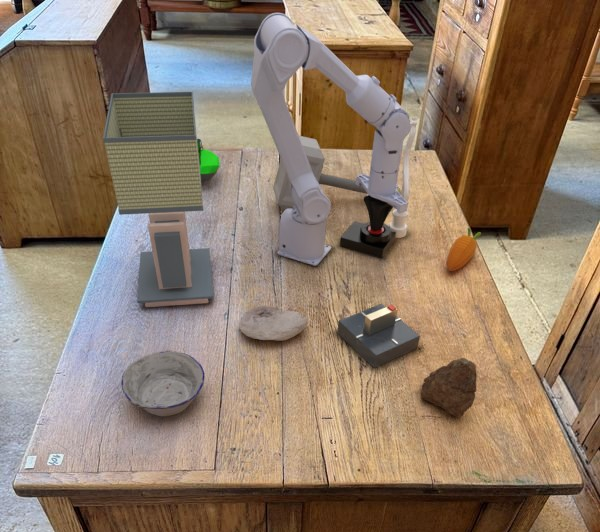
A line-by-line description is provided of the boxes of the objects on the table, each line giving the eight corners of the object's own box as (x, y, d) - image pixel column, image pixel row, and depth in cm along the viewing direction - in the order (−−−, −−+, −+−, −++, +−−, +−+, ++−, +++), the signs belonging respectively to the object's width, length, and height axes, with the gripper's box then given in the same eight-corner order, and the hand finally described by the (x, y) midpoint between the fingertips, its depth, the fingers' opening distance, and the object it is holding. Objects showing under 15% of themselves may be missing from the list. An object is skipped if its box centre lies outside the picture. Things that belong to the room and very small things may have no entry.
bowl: (220, 409, 92) (217, 388, 89) (143, 439, 88) (138, 419, 84) (188, 361, 100) (185, 340, 96) (116, 386, 95) (110, 365, 91)
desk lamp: (214, 309, 110) (197, 135, 86) (139, 314, 108) (100, 138, 84) (210, 256, 122) (194, 91, 99) (142, 260, 121) (109, 93, 97)
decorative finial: (407, 238, 130) (429, 124, 112) (390, 238, 129) (408, 124, 111) (402, 225, 134) (422, 112, 116) (385, 225, 133) (402, 112, 115)
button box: (339, 246, 127) (341, 229, 124) (353, 229, 132) (355, 213, 129) (381, 258, 124) (384, 242, 121) (394, 241, 129) (397, 225, 126)
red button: (364, 237, 125) (365, 230, 124) (370, 230, 127) (371, 223, 126) (379, 242, 124) (380, 234, 123) (385, 234, 126) (386, 227, 125)
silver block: (368, 336, 101) (371, 319, 98) (363, 331, 102) (365, 314, 99) (394, 324, 104) (397, 308, 101) (389, 320, 104) (392, 303, 102)
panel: (336, 333, 106) (338, 320, 104) (379, 315, 110) (381, 302, 108) (373, 368, 100) (375, 355, 98) (417, 348, 104) (420, 334, 102)
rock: (413, 388, 97) (436, 343, 90) (446, 389, 99) (471, 344, 92) (434, 430, 90) (461, 384, 83) (468, 430, 92) (497, 385, 85)
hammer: (406, 158, 138) (287, 130, 129) (416, 173, 133) (293, 145, 123) (383, 215, 148) (271, 193, 139) (391, 230, 143) (275, 209, 134)
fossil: (229, 322, 101) (251, 293, 108) (231, 342, 104) (252, 312, 111) (294, 335, 98) (312, 304, 105) (294, 354, 101) (312, 323, 108)
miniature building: (175, 170, 149) (169, 127, 141) (220, 169, 150) (217, 126, 142) (173, 192, 141) (167, 147, 133) (221, 191, 142) (217, 147, 134)
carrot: (466, 268, 116) (488, 234, 125) (446, 254, 116) (470, 220, 125) (452, 284, 120) (475, 249, 129) (433, 270, 120) (457, 236, 129)
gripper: (423, 177, 112) (412, 239, 122) (377, 149, 120) (369, 209, 130) (396, 186, 109) (386, 248, 119) (350, 157, 117) (345, 217, 127)
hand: (376, 229), depth 124 cm, fingers closed, pressing on red button
